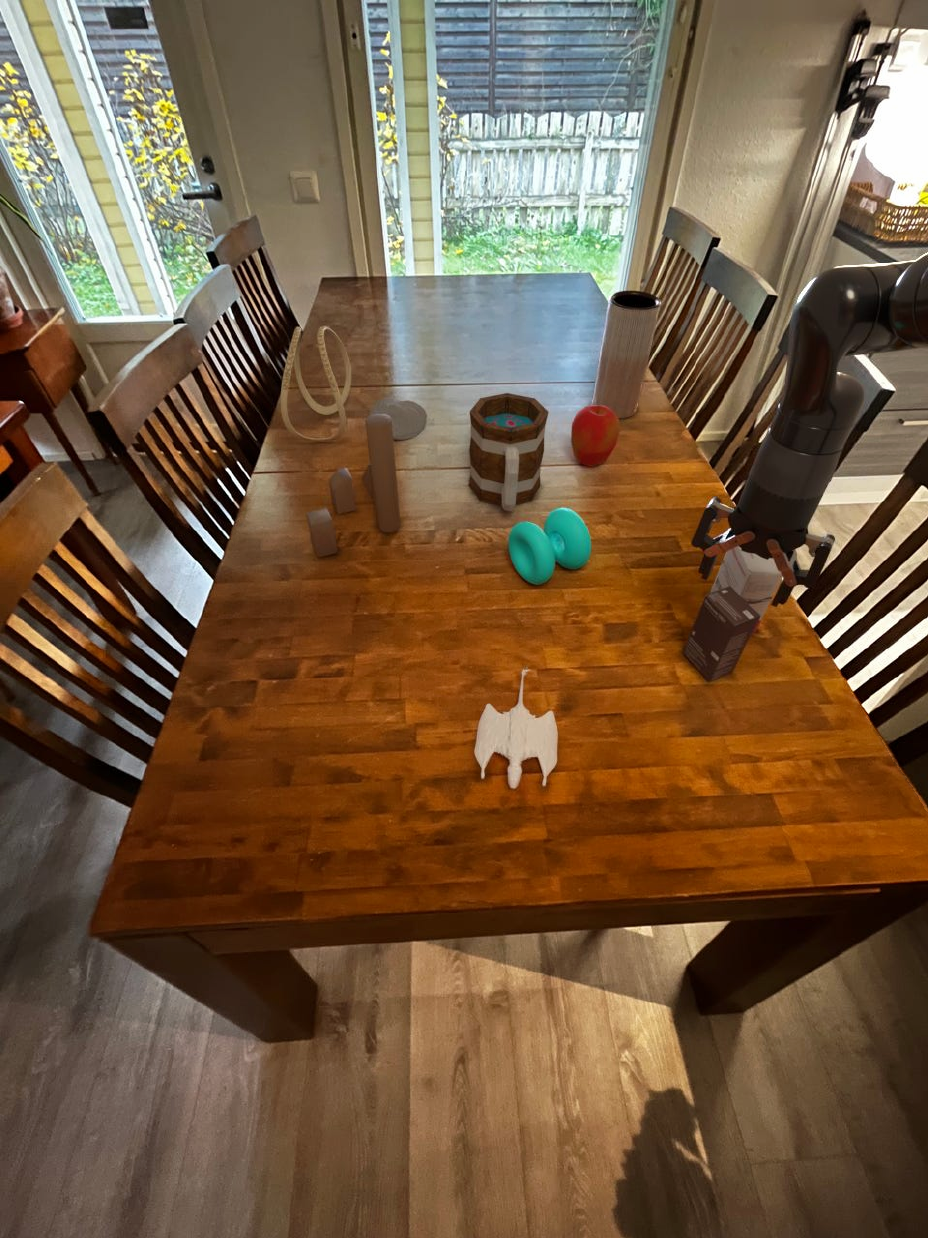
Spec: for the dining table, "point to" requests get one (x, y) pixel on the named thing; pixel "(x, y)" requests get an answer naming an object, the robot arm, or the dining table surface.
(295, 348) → the beige looped band
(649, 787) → the dining table surface
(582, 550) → the turquoise yo-yo
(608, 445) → the apple
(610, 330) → the planter
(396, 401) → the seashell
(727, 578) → the ink box
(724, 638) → the box
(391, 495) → the wooden blocks
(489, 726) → the white dragon
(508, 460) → the mug
